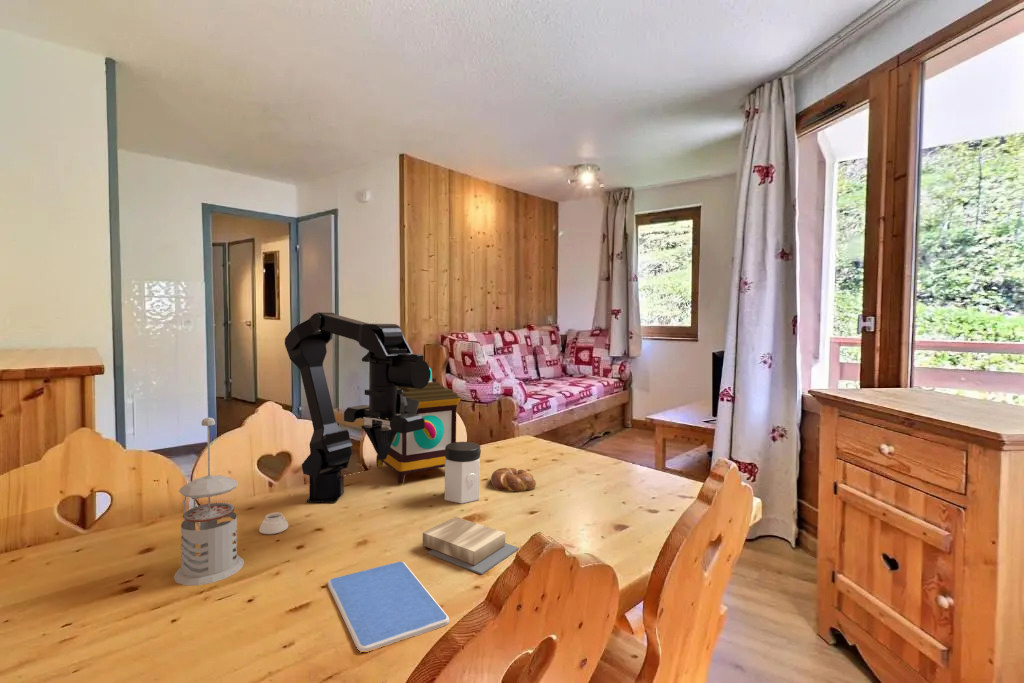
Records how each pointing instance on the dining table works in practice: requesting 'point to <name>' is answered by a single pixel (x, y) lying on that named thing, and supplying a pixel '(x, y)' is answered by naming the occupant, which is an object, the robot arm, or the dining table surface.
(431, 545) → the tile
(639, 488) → the dining table surface
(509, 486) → the pretzel
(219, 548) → the french press
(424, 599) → the tablet computer
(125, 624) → the dining table surface
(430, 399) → the decorative lantern
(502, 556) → the mat
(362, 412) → the robot arm
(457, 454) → the jar
